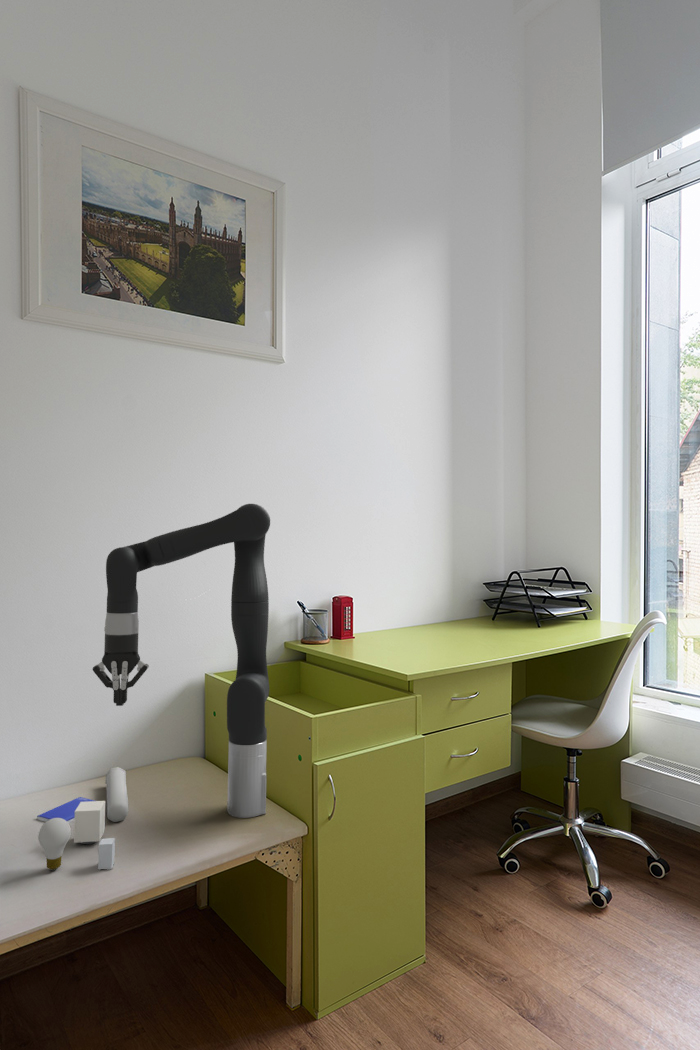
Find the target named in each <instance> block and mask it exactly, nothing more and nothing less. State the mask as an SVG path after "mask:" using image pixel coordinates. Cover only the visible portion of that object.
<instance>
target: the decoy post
mask: <svg viewBox="0 0 700 1050" xmlns="http://www.w3.org/2000/svg"><path fill="white" fill-rule="evenodd" d="M98 843H99V844H98V853H97V854H98V857H97V858H98V859H97V862H98V863H97V867H98V868H97V870H98V869H107V870H112V869H113V867H114V865H115V847H116V846H115V843H116V838H115V837H109V838H108V837H107V838H101V839H100V841H99V842H98ZM113 864H114V865H113Z"/></svg>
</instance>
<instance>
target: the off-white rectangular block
mask: <svg viewBox="0 0 700 1050" xmlns="http://www.w3.org/2000/svg"><path fill="white" fill-rule="evenodd" d="M73 821H74V824H73V826H74V828H73V829H74V830H73V831H74V832H73V844H75V843H82V842H94V841H95V842H100V841H101V839H102V836H103V835H104V833H105V826H106V825H105V823H106V800H95V801H88V802H80V804H79V805H78V807H77V809H76V810H75V820H73Z"/></svg>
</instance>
